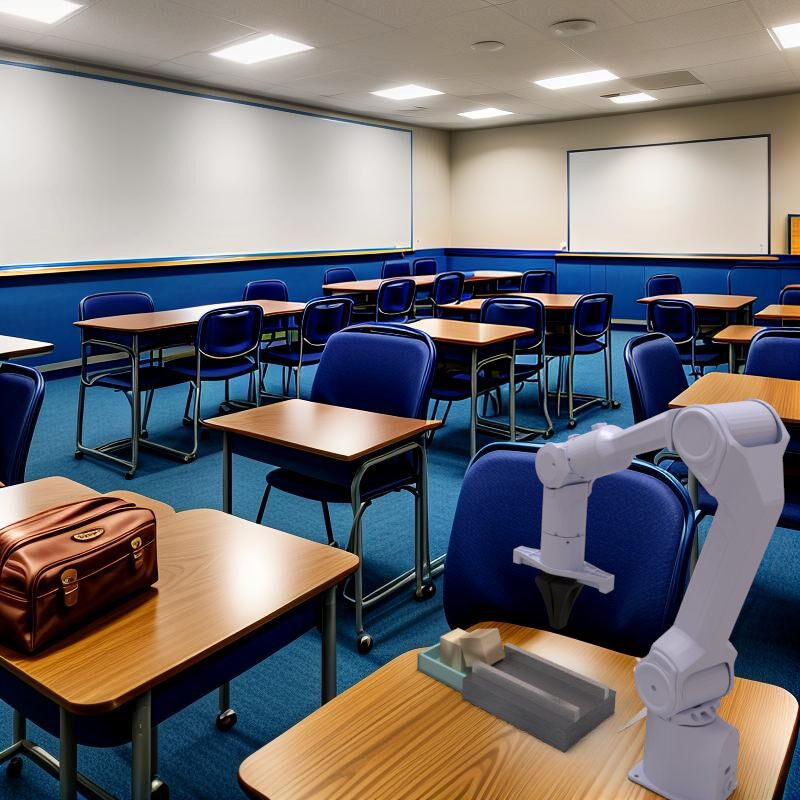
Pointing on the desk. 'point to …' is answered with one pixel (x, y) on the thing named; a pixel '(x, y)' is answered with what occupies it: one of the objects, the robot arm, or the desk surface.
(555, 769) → the desk surface
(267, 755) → the desk surface
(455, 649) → the block
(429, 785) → the desk surface
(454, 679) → the tray
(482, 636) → the block
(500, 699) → the slot board
